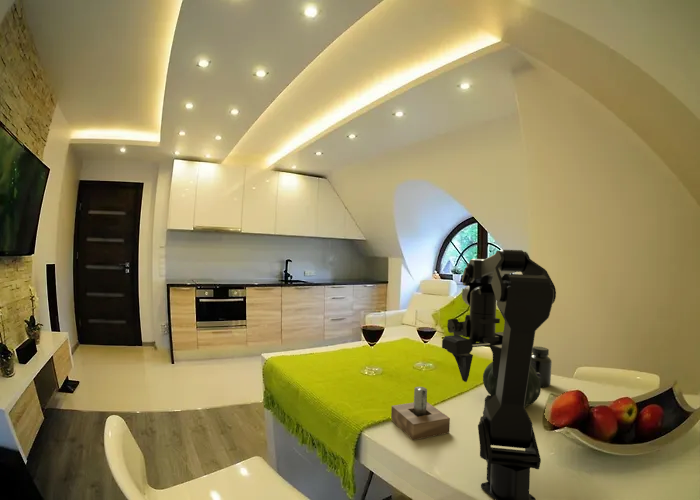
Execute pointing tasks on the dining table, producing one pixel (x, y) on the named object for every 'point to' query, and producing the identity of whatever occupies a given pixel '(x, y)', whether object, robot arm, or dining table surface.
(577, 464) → the dining table surface
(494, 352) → the robot arm
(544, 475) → the dining table surface
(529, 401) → the squash
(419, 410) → the pin
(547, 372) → the supplement bottle
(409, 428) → the hole block
